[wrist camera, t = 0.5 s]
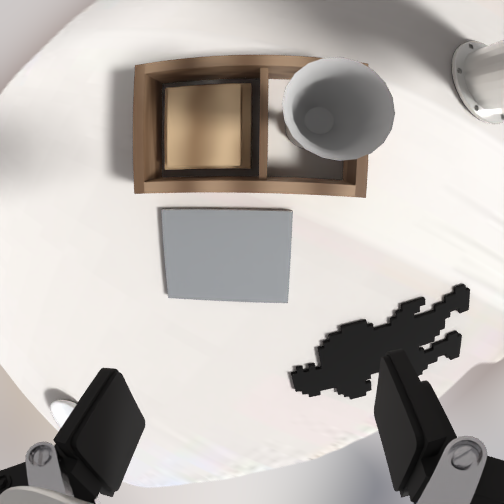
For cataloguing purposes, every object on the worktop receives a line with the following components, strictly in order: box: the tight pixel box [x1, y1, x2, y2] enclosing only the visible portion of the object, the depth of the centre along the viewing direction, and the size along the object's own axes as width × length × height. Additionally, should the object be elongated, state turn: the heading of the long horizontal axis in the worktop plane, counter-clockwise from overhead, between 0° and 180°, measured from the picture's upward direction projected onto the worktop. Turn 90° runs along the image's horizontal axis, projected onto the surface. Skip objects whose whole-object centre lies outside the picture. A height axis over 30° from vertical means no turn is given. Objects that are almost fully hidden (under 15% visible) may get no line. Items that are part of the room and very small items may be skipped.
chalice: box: [282, 57, 395, 161], centre depth 26 cm, size 7×7×18 cm
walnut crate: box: [133, 55, 368, 198], centre depth 32 cm, size 24×14×6 cm, turn 89°
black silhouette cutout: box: [291, 284, 470, 399], centre depth 43 cm, size 16×1×30 cm
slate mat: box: [161, 209, 293, 303], centre depth 39 cm, size 16×12×1 cm
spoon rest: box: [50, 400, 77, 428], centre depth 51 cm, size 24×12×7 cm, turn 18°
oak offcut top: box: [167, 84, 242, 167], centre depth 32 cm, size 8×9×2 cm
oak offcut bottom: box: [164, 83, 252, 170], centre depth 34 cm, size 10×10×2 cm
